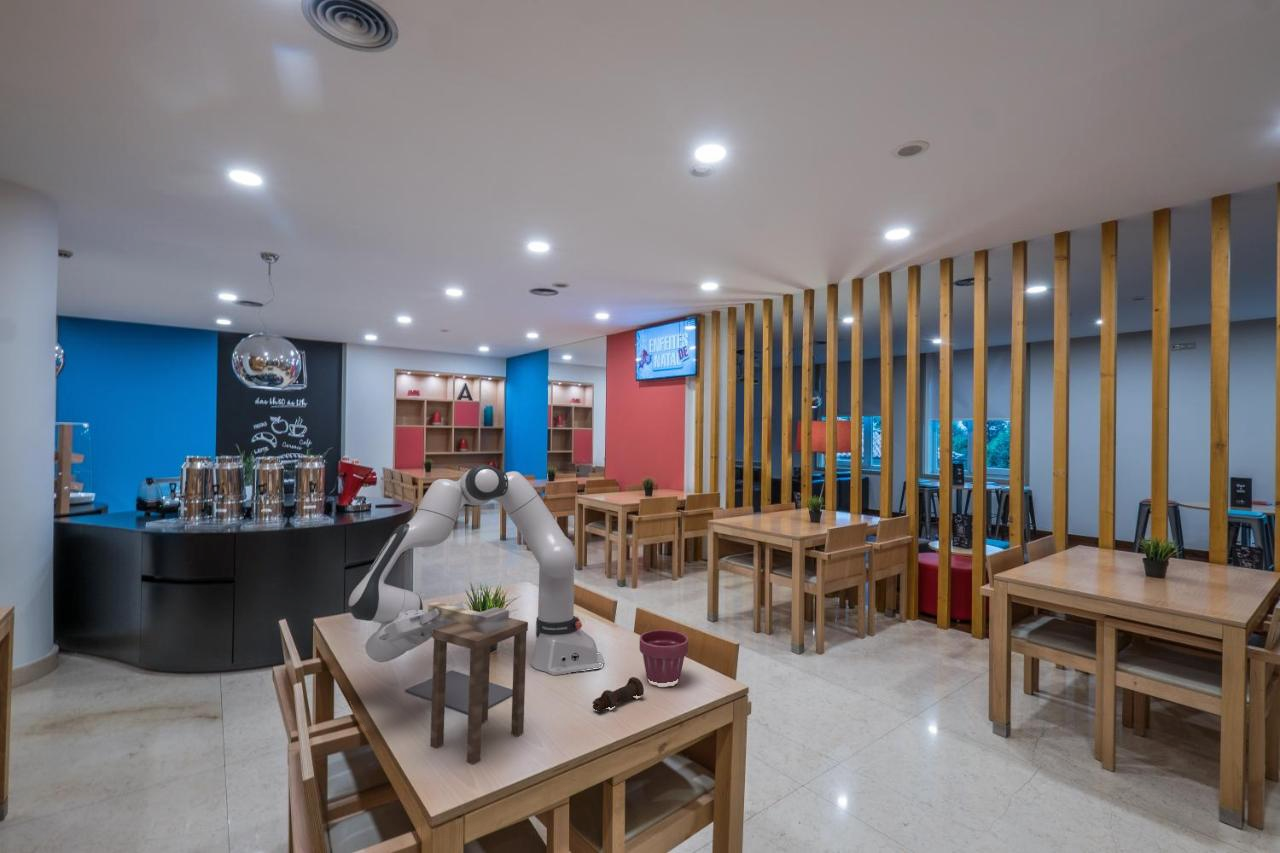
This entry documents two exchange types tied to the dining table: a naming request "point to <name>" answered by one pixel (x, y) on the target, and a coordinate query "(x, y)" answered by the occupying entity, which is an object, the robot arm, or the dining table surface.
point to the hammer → (474, 617)
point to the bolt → (619, 694)
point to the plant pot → (663, 654)
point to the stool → (477, 679)
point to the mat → (459, 691)
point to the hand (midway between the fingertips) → (445, 609)
